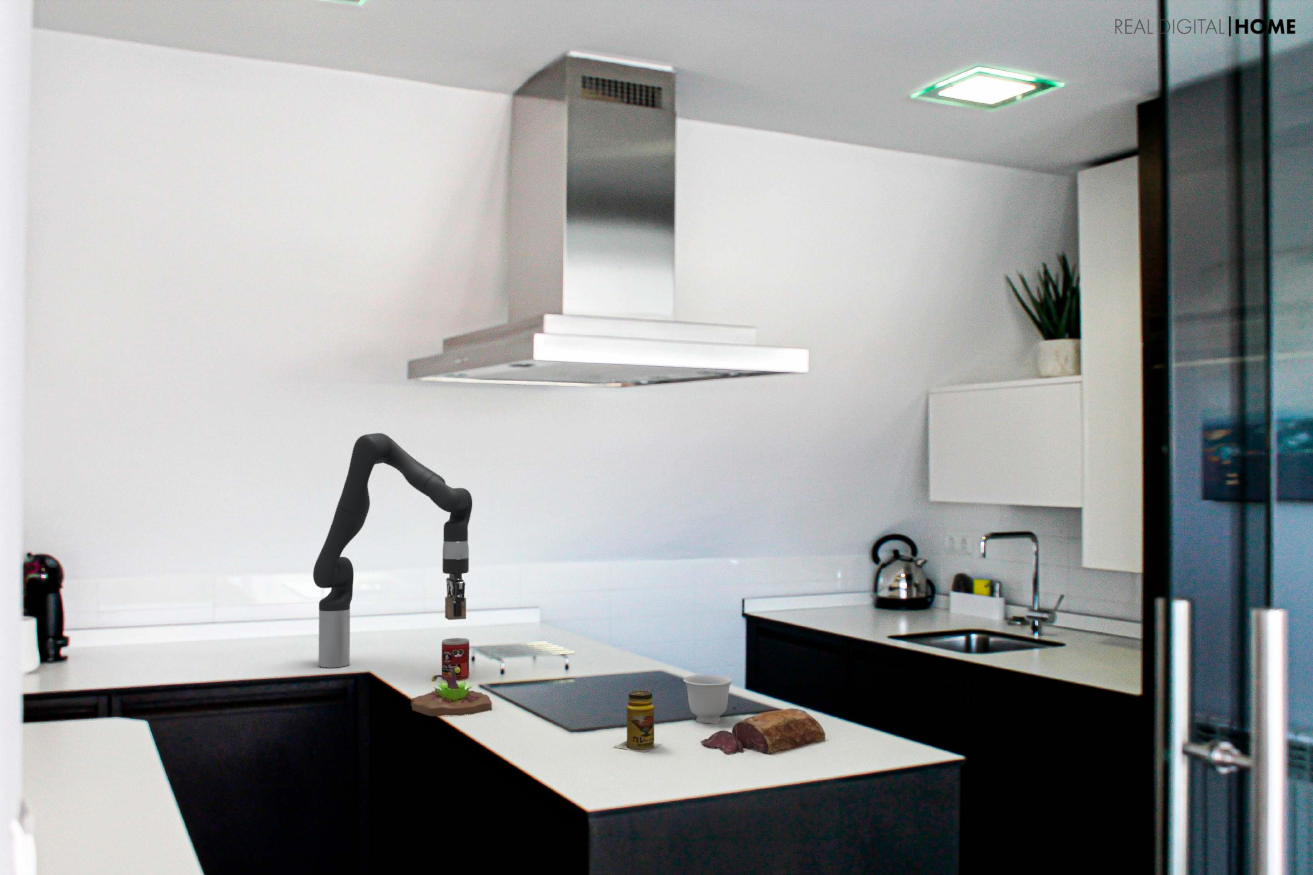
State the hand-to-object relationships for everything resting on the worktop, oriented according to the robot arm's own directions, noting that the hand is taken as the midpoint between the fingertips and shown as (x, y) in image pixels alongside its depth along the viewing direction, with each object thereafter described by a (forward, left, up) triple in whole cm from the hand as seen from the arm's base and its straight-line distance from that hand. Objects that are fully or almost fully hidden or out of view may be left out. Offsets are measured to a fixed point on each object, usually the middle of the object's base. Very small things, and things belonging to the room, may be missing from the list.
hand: (455, 614), depth 320 cm
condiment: (+91, +20, -19) cm, 95 cm away
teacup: (+74, +45, -18) cm, 89 cm away
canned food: (0, 0, -18) cm, 18 cm away
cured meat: (+99, +46, -19) cm, 111 cm away
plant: (+37, -9, -19) cm, 42 cm away
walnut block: (0, 0, -1) cm, 1 cm away
